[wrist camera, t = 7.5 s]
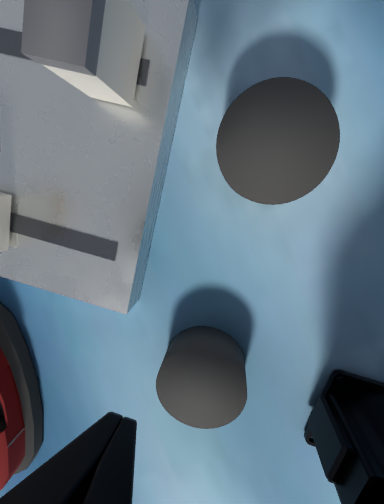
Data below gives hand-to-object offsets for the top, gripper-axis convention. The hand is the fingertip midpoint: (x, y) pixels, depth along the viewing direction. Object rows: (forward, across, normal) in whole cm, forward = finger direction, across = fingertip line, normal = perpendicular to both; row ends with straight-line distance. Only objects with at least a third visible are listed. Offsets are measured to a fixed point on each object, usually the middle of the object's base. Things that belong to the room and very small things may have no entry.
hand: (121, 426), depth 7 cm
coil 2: (+12, -3, -10) cm, 16 cm away
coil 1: (+12, -3, +6) cm, 13 cm away
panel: (+12, +10, -7) cm, 17 cm away
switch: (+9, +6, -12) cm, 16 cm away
